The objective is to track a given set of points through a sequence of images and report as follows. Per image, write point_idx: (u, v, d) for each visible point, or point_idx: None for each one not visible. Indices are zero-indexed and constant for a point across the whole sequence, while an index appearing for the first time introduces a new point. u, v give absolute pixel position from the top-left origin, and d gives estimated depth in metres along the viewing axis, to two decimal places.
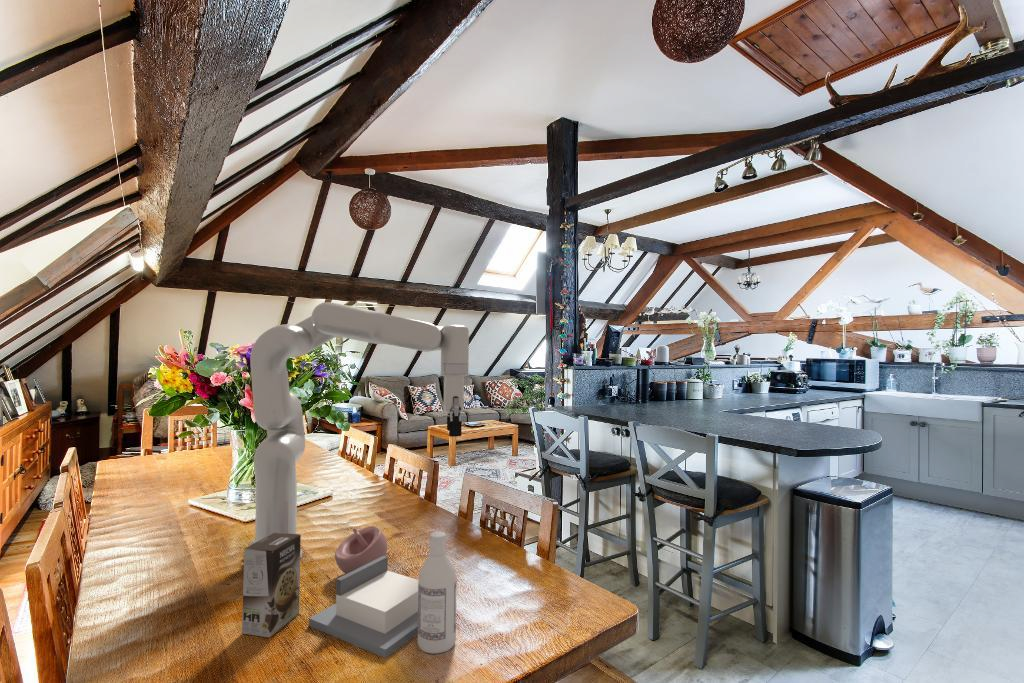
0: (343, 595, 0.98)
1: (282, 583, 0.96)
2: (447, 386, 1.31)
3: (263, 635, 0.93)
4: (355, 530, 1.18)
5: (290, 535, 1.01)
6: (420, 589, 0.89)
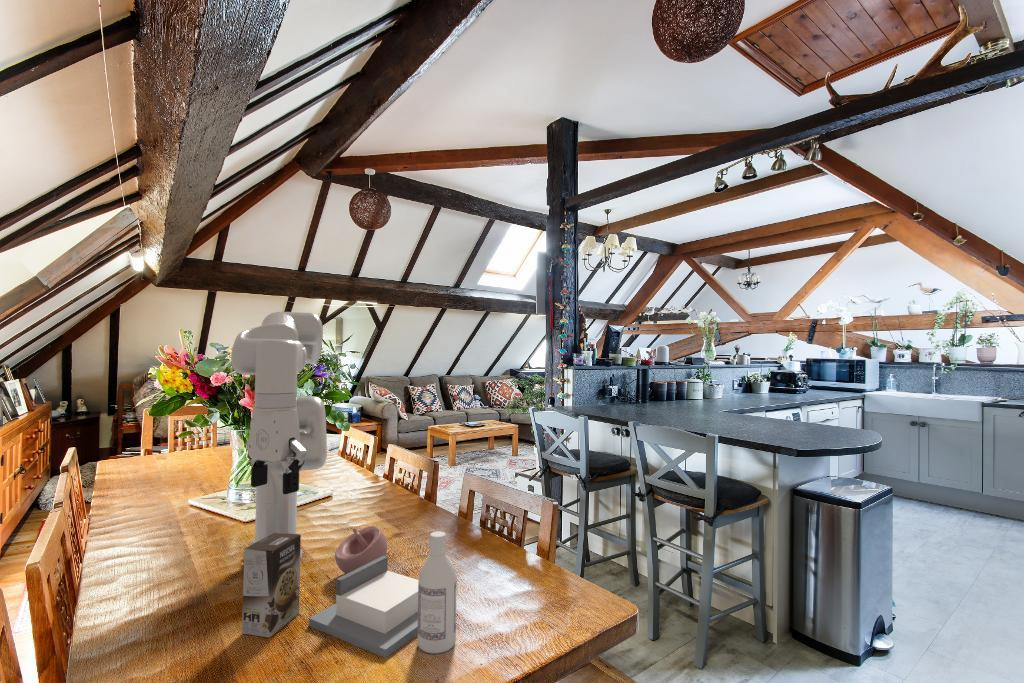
0: (343, 595, 0.98)
1: (282, 583, 0.96)
2: (280, 425, 0.94)
3: (263, 635, 0.93)
4: (355, 530, 1.18)
5: (290, 535, 1.01)
6: (420, 589, 0.89)
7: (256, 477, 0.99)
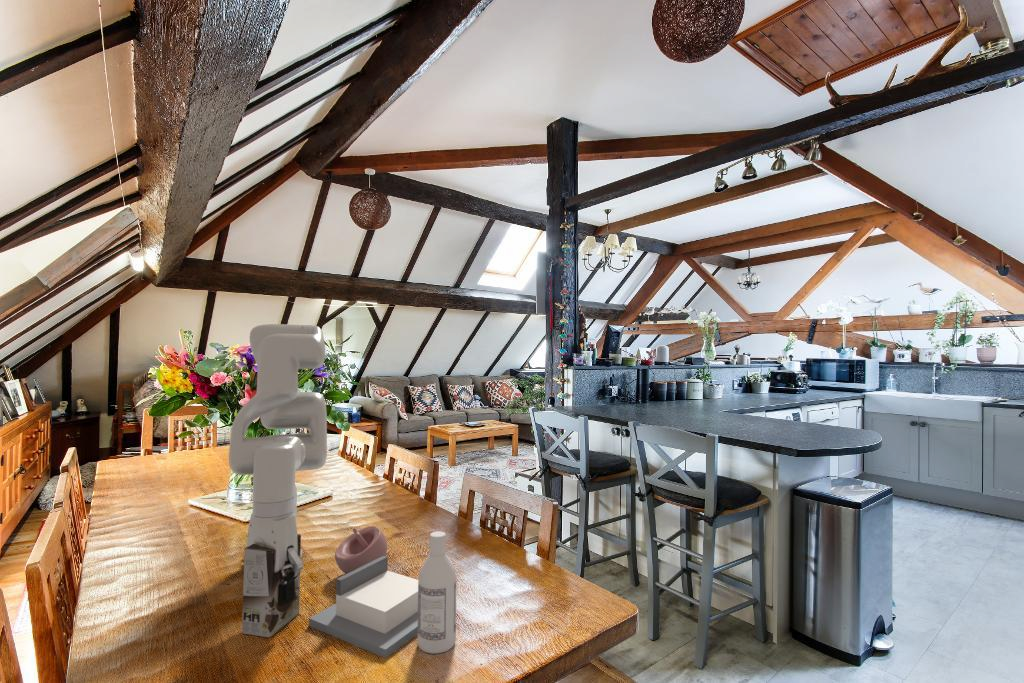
0: (343, 595, 0.98)
1: None
2: (278, 535, 0.94)
3: (263, 635, 0.93)
4: (355, 530, 1.18)
5: None
6: (420, 589, 0.89)
7: None
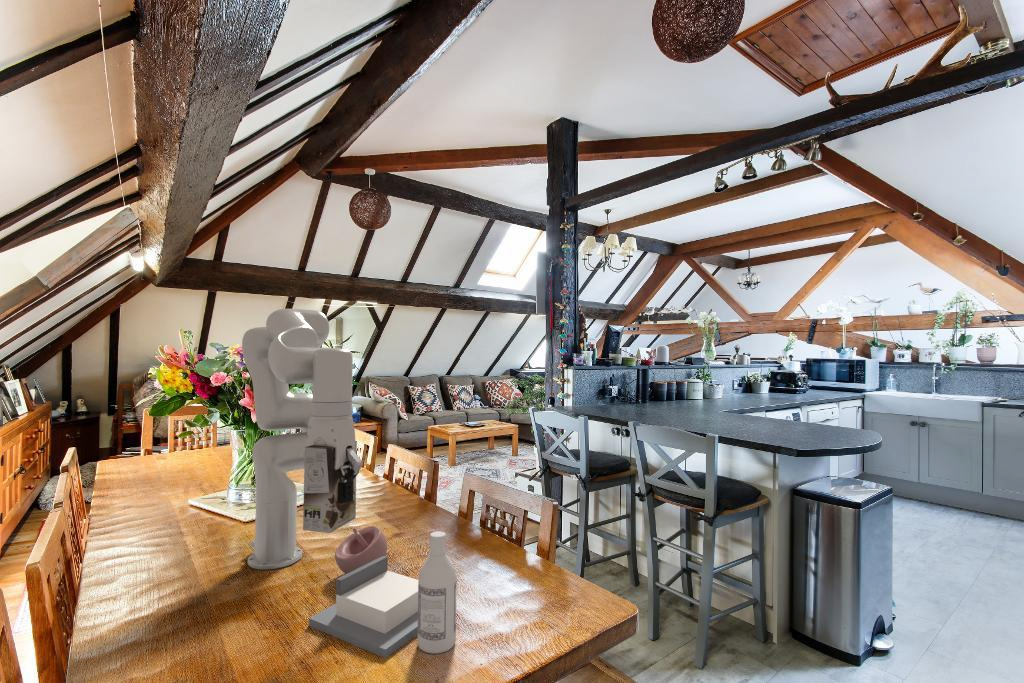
0: (343, 595, 0.98)
1: None
2: (338, 433, 0.95)
3: (324, 531, 0.94)
4: (355, 530, 1.18)
5: None
6: (420, 589, 0.89)
7: None
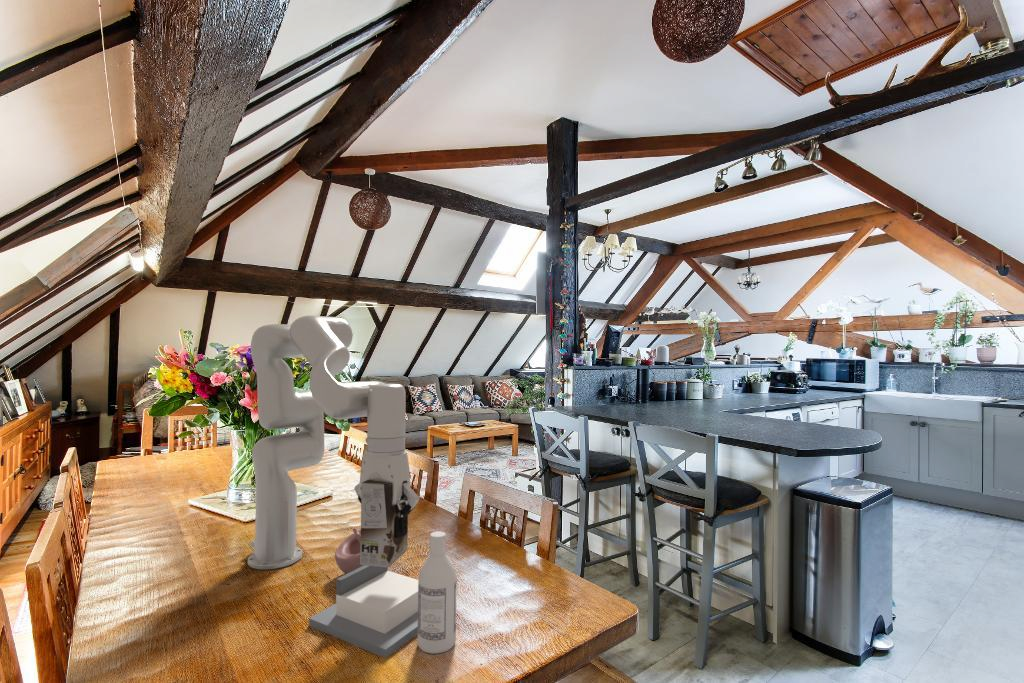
0: (343, 595, 0.98)
1: None
2: (395, 469, 0.97)
3: (382, 565, 0.96)
4: (355, 530, 1.18)
5: None
6: (420, 589, 0.89)
7: None
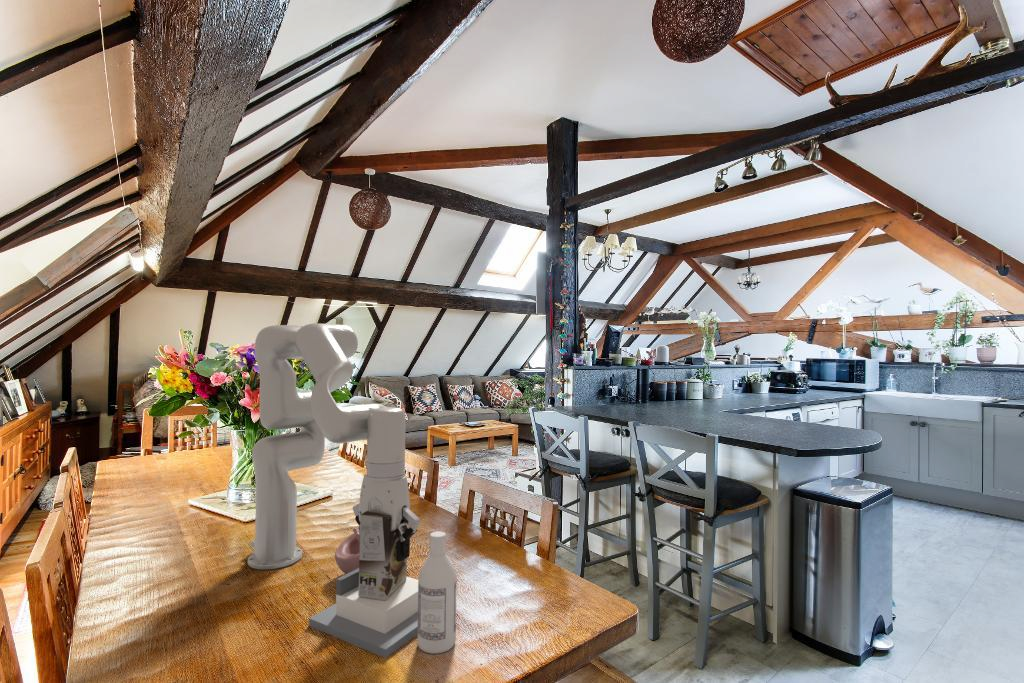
0: (343, 595, 0.98)
1: (395, 549, 0.99)
2: (395, 495, 0.97)
3: (380, 598, 0.96)
4: (355, 530, 1.18)
5: None
6: (420, 589, 0.89)
7: None
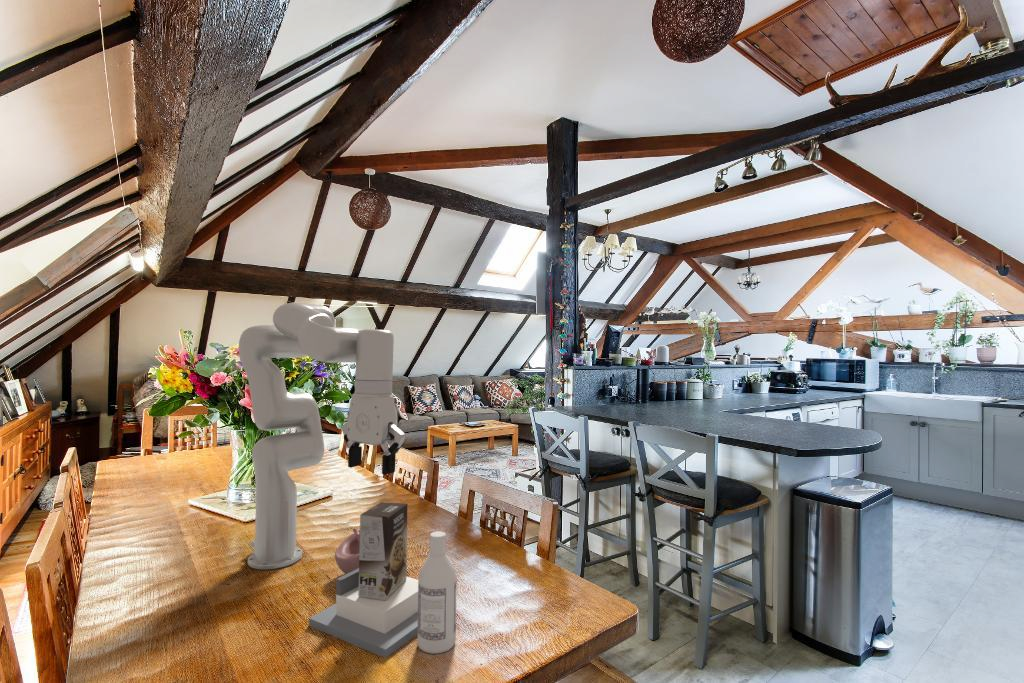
0: (343, 595, 0.98)
1: (395, 549, 0.99)
2: (381, 410, 1.00)
3: (380, 598, 0.96)
4: (355, 530, 1.18)
5: (398, 504, 1.04)
6: (420, 589, 0.89)
7: (353, 458, 1.06)
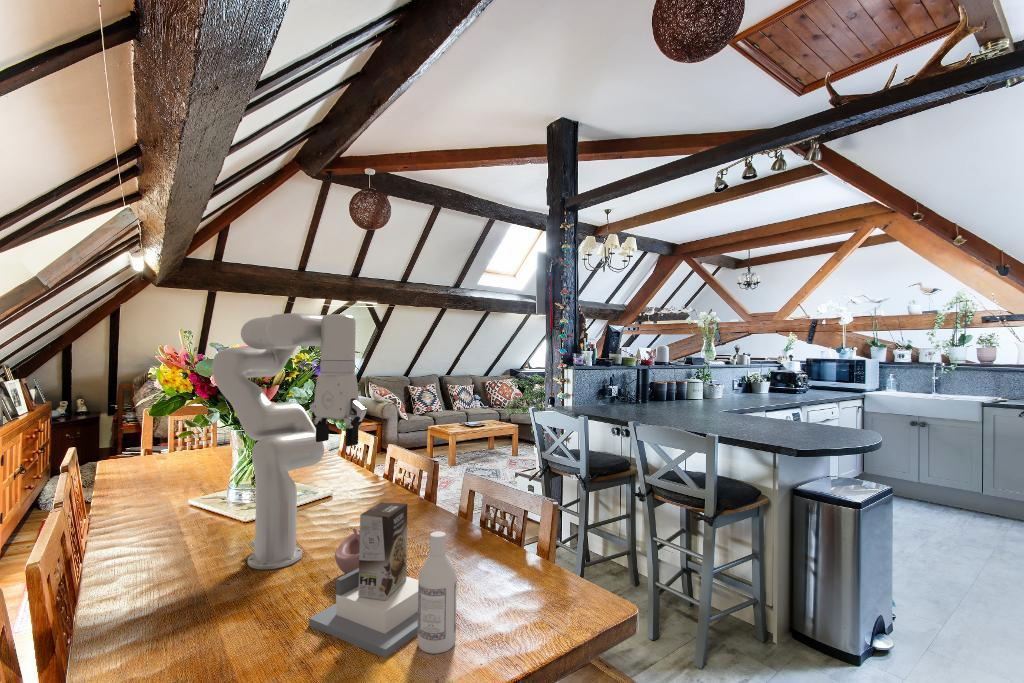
0: (343, 595, 0.98)
1: (395, 549, 0.99)
2: (344, 387, 1.10)
3: (380, 598, 0.96)
4: (355, 530, 1.18)
5: (398, 504, 1.04)
6: (420, 589, 0.89)
7: (320, 433, 1.15)
